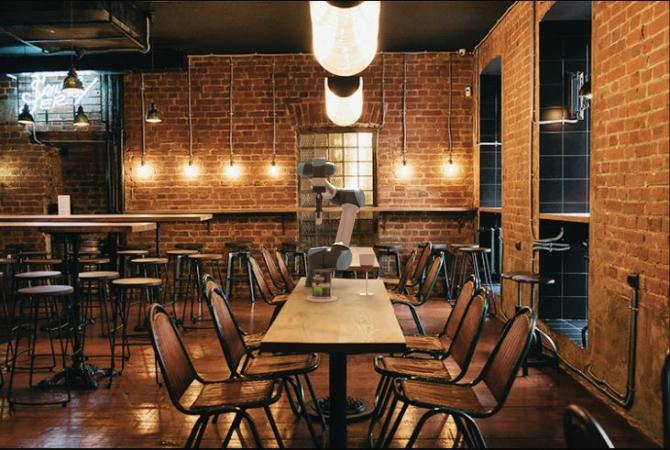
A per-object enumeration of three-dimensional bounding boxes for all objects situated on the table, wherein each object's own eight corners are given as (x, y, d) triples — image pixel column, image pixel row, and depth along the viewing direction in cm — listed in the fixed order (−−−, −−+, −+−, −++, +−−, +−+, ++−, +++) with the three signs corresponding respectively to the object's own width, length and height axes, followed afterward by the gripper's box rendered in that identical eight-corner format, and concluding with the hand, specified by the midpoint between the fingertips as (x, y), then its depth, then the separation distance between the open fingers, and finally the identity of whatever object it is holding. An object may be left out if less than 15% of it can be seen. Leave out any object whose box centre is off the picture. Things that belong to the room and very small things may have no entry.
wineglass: (374, 292, 337) (375, 253, 336) (374, 295, 327) (374, 255, 326) (359, 292, 338) (359, 253, 337) (358, 295, 328) (358, 255, 327)
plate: (307, 296, 321) (307, 294, 321) (337, 297, 321) (337, 294, 321) (305, 302, 305) (305, 299, 305) (336, 302, 305) (336, 299, 305)
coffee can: (325, 299, 306) (326, 271, 305) (308, 297, 311) (308, 270, 310) (335, 296, 315) (335, 269, 314) (318, 294, 320) (318, 268, 319)
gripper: (313, 186, 345) (313, 222, 346) (311, 185, 320) (310, 224, 321) (326, 186, 345) (326, 222, 346) (325, 185, 320) (324, 225, 321)
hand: (318, 223), depth 333 cm, fingers open, 13 cm apart
